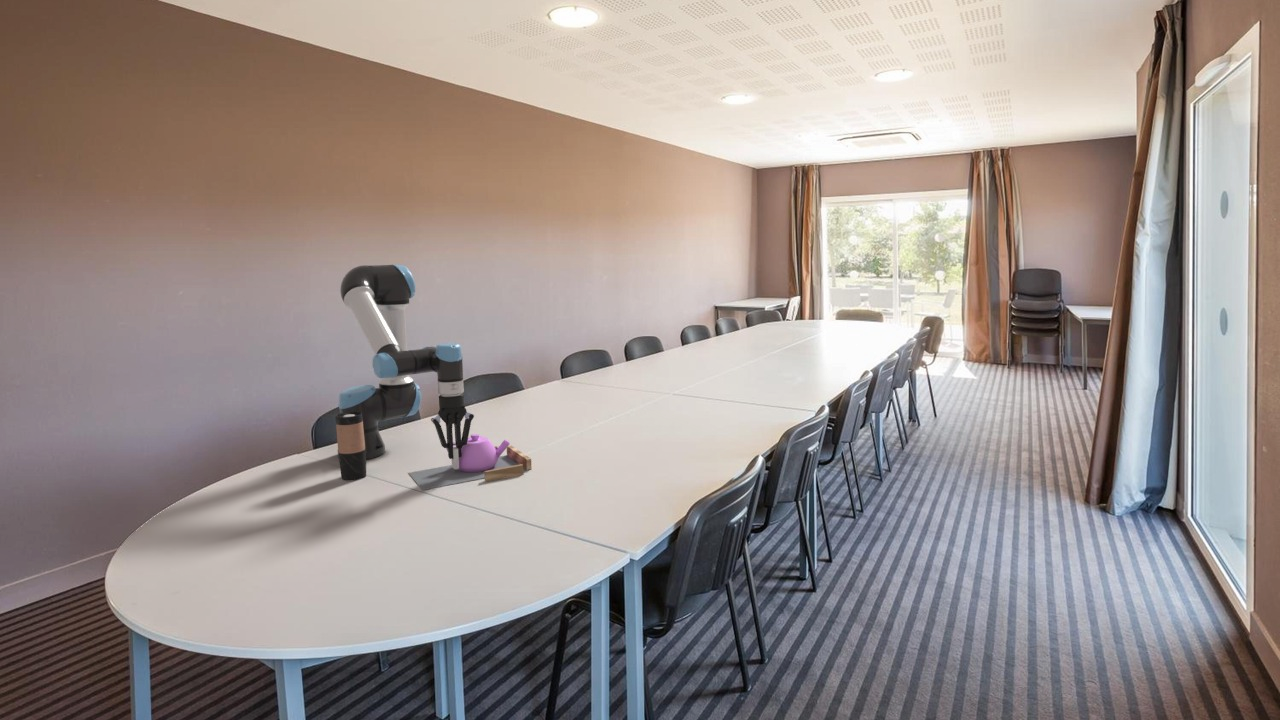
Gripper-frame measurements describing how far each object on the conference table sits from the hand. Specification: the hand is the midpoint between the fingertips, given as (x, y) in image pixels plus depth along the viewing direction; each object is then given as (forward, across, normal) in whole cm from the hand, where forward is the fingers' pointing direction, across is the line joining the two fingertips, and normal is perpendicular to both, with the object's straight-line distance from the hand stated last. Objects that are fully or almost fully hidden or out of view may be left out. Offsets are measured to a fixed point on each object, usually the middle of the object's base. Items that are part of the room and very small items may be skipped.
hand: (455, 467), depth 201 cm
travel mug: (+2, -27, +15) cm, 31 cm away
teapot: (+2, +8, +3) cm, 9 cm away
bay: (+2, +13, 0) cm, 13 cm away
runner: (+2, +5, 0) cm, 5 cm away
